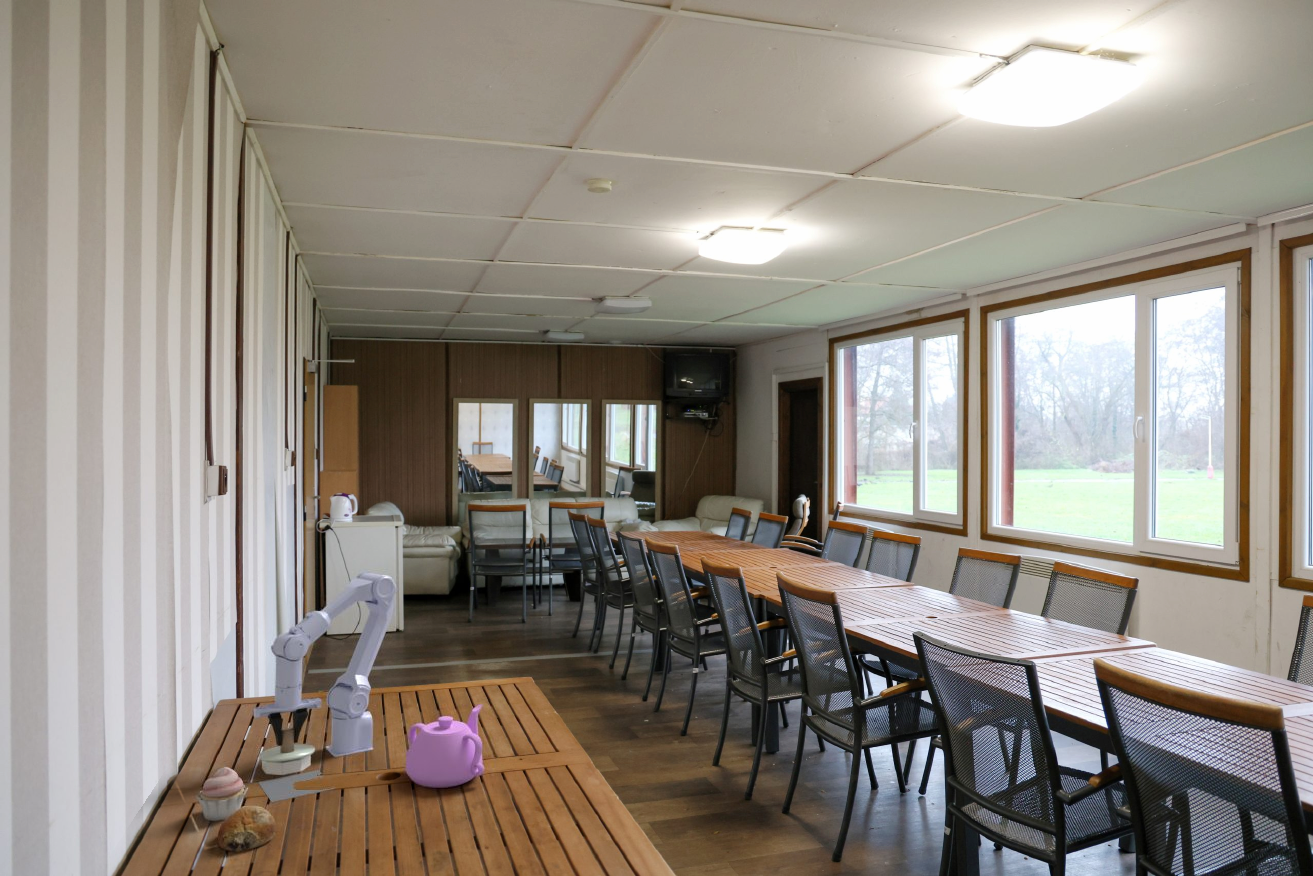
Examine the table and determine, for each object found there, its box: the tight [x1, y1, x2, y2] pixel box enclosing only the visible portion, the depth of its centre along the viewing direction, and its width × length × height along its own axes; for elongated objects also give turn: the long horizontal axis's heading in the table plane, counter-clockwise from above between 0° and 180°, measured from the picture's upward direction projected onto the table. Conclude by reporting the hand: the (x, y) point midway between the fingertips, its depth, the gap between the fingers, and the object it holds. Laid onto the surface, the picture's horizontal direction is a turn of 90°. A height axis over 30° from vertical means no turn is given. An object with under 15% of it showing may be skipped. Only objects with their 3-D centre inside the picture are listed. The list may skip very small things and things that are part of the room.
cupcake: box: [195, 766, 249, 822], centre depth 172 cm, size 9×9×10 cm
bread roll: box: [217, 805, 277, 852], centre depth 162 cm, size 10×10×8 cm
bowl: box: [261, 754, 312, 776], centre depth 198 cm, size 10×10×3 cm
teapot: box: [405, 704, 485, 789], centre depth 197 cm, size 22×22×14 cm
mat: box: [257, 769, 336, 803], centre depth 187 cm, size 13×13×1 cm
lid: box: [258, 727, 316, 762], centre depth 198 cm, size 12×12×6 cm
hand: (287, 743), depth 199 cm, fingers closed on lid, 3 cm apart
